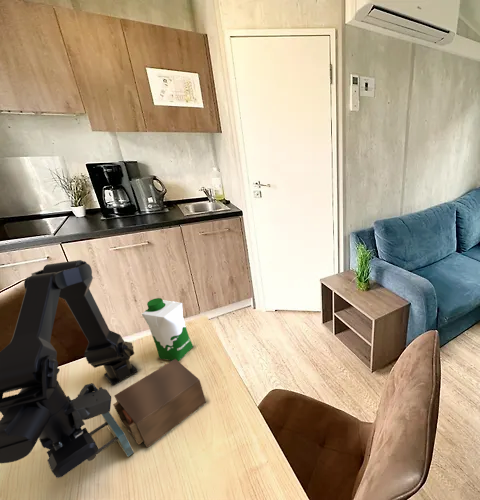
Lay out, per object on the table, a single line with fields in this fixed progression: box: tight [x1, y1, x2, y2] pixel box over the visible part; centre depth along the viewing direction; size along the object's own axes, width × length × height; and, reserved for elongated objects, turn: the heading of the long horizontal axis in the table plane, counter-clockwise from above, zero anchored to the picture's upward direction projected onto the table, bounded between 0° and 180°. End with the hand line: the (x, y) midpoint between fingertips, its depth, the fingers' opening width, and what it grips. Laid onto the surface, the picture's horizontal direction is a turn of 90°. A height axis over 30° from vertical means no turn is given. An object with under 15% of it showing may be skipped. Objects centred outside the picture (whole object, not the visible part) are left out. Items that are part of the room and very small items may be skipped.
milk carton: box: [141, 297, 194, 362], centre depth 90 cm, size 9×9×20 cm
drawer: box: [86, 401, 143, 462], centre depth 69 cm, size 19×11×7 cm, turn 145°
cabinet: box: [113, 359, 207, 448], centre depth 74 cm, size 15×13×9 cm
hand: (78, 457), depth 61 cm, fingers closed, pressing on drawer
